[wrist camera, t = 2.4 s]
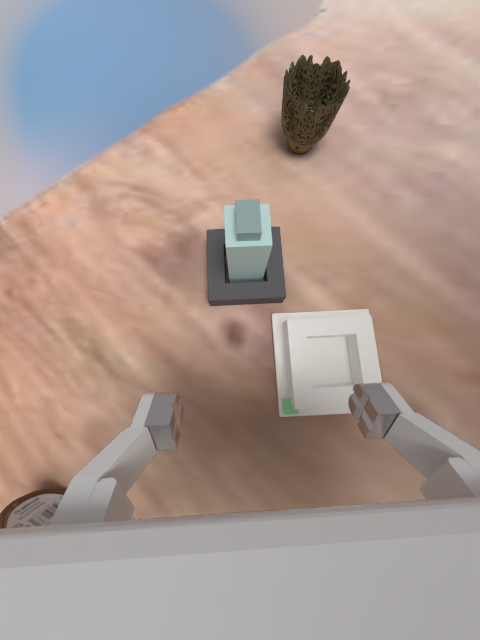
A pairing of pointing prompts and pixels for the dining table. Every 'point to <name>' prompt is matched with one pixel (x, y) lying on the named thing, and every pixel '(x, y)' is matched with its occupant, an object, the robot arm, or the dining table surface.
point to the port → (322, 359)
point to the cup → (311, 101)
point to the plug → (247, 240)
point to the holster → (246, 291)
